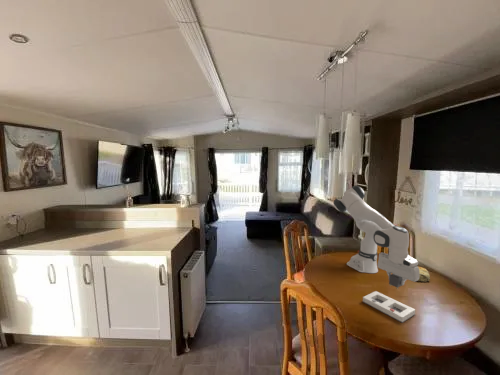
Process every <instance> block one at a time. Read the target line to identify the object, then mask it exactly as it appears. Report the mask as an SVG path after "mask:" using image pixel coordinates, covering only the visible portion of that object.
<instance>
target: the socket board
mask: <svg viewBox="0 0 500 375" xmlns="http://www.w3.org/2000/svg"><path fill="white" fill-rule="evenodd" d="M362 303H364V304H366V305H368V306H370V307H372V308H374V309H375V310H378V311H379V312H380V313H382V314H385V315H386V316H389V317H390V318H392V319H394V320H396V321H398V322H400V323H402V324H403V323H405V322H406V321H408V320H409V319H411V318H412V317H414V316H415V315H416V309H415V308H413V307H411V306H409V305H406V304H404V303H402V302H400V301H398V300H396V299H394V298H391V297H390V296H387V295H385V294H383V293H382V292H379V291H377V290H375V291H372V292H371V293H368V294H367V295H365V296H362Z"/></svg>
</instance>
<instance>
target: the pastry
mask: <svg viewBox="0 0 500 375" xmlns="http://www.w3.org/2000/svg"><path fill="white" fill-rule="evenodd" d="M417 266H418V268H419V280H418V281H417V282H422V283H423V282H424V283H427V282H429V281H430V280H431V276H430V273H429V271H428V270H427V268H425V267H422V266H419V265H417Z"/></svg>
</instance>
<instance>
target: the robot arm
mask: <svg viewBox="0 0 500 375" xmlns="http://www.w3.org/2000/svg"><path fill="white" fill-rule="evenodd" d="M343 193H344V196H343V197H342V199H337V198H335V199H334V200H333V207H334V208H335V209H336V210H337V211H338V212H340V213H344V212H348V213H349V214H350V215H351V217H352V218H353V221H354V222H355V226H356V228H358V230H360V231H361V232H364V238H362V239H361V241H360V249H358V250H357V253H356V254H354V255H352V256H351V257H350V260H349V261H347V263H346V266H349V267H350V268H352V269H354V270H356V271H358V272H359V273H367V274H376V273H378V272H379V269H380V270H383V271H386V274H387V277H389V276H390V275H391V274H395V275H398V276H401V277H402V279H404V280H403V281H400V284H401V285H402V286H405V283H406V282H407V280H409V281H411V282H413V283H414V282H419V281H418V280H419V268H418V266H419V261H418V260H417V259H416V258H414V257H412V256H410V254H409V250H408V249H409V247H410V234H409V231H408V230H407V229H406V228H405V227H403V226H397V225H395V224H393V223H392V222H391V221H389V219H387V218H386V217H385V216H384V215H383V214H381V212H379V211H377V210H376V209H374V208H372V207H371V206H370V205H369V204H368V203H367V202H365V200H363V199H364V198H365V195H366V193H365V191H364V189H363V188H362V187H361V186H359V185H353V186H351V187H350V188H349V189H346V190H345V191H344V192H343ZM378 246H379V247H381V248H388V253H385V252H379V254H378V251H377V250H378ZM377 260H378V261H377Z"/></svg>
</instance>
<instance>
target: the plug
mask: <svg viewBox="0 0 500 375" xmlns="http://www.w3.org/2000/svg"><path fill="white" fill-rule="evenodd" d="M403 280H404V279H402V277H401V276H398V275H395V274H393V273H391V275H390V276H388V285H389V287H395V288H396V289H397V290H399V288H400V287H402V286H403V285H401V284H400V281H403Z"/></svg>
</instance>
